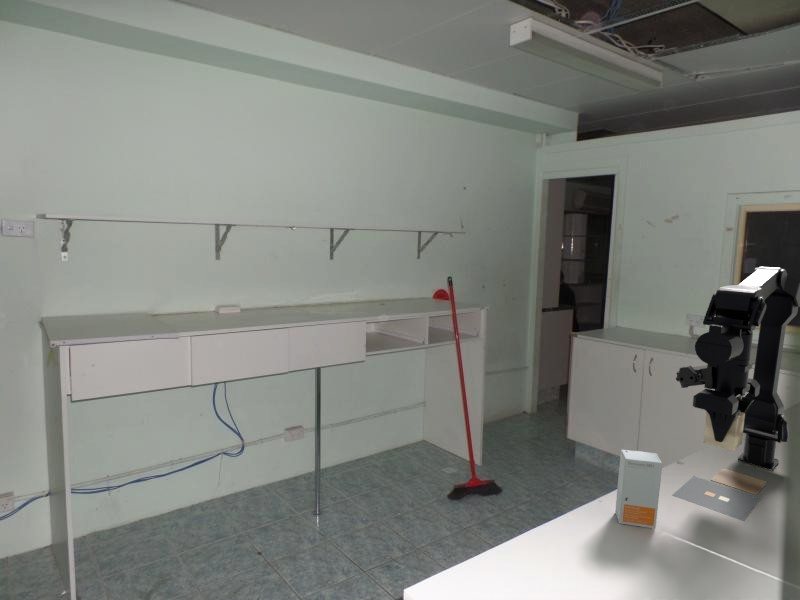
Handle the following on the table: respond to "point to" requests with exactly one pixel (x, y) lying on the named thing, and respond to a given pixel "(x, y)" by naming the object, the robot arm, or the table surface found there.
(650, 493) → the skincare box
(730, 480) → the pad
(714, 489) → the tile
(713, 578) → the table surface
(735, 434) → the birch block
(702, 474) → the table surface
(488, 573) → the table surface
